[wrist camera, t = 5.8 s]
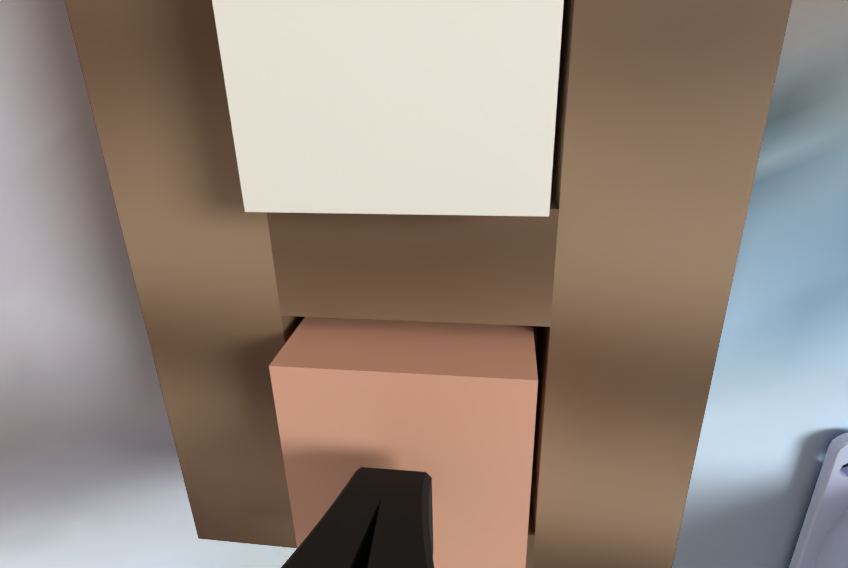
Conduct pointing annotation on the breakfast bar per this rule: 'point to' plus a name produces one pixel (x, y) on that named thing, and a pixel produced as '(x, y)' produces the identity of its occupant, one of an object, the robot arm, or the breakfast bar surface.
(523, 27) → the cream key
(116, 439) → the breakfast bar surface
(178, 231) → the key panel
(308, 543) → the robot arm
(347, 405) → the terracotta key
